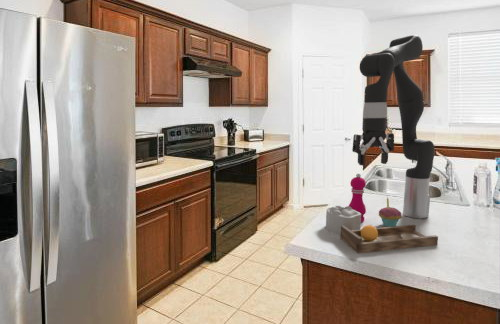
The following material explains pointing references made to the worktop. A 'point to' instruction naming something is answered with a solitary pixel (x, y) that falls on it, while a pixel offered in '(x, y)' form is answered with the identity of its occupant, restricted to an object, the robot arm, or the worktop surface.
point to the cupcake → (389, 215)
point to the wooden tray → (387, 239)
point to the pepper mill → (358, 195)
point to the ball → (369, 233)
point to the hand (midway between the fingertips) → (372, 164)
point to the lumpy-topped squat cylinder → (342, 219)
